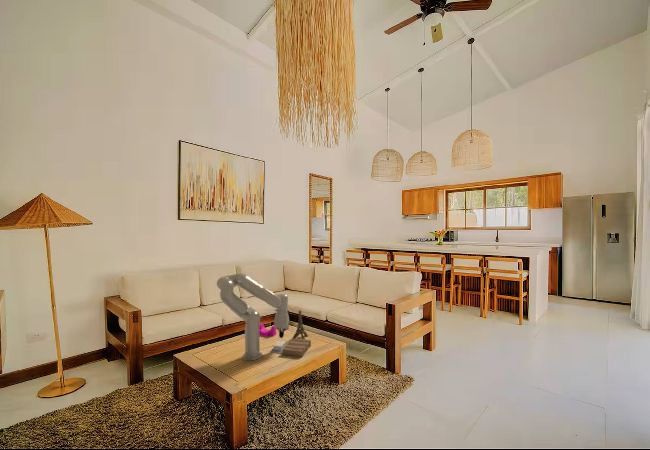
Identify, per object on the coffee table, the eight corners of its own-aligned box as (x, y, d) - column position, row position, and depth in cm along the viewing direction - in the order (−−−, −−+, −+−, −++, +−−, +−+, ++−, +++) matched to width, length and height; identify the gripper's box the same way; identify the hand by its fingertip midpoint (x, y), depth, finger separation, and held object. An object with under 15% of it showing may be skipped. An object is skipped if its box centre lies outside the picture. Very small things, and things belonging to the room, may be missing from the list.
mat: (283, 353, 209) (283, 353, 209) (269, 352, 212) (269, 351, 212) (291, 344, 225) (291, 344, 225) (279, 343, 227) (279, 342, 227)
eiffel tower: (296, 334, 246) (296, 303, 245) (308, 335, 243) (308, 304, 242) (291, 339, 235) (291, 307, 235) (304, 340, 232) (303, 308, 232)
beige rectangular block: (273, 345, 215) (273, 349, 215) (281, 346, 214) (281, 350, 214) (278, 340, 224) (278, 344, 224) (286, 341, 222) (286, 345, 222)
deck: (302, 357, 204) (301, 351, 204) (282, 355, 207) (282, 349, 207) (311, 345, 223) (310, 340, 223) (293, 343, 227) (293, 338, 227)
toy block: (256, 334, 245) (256, 325, 245) (260, 332, 251) (260, 323, 251) (271, 337, 239) (271, 328, 239) (276, 334, 245) (276, 325, 245)
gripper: (270, 311, 216) (269, 337, 216) (290, 314, 212) (289, 340, 212) (274, 309, 223) (273, 334, 223) (293, 311, 219) (293, 336, 219)
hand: (281, 337), depth 217 cm, fingers closed
